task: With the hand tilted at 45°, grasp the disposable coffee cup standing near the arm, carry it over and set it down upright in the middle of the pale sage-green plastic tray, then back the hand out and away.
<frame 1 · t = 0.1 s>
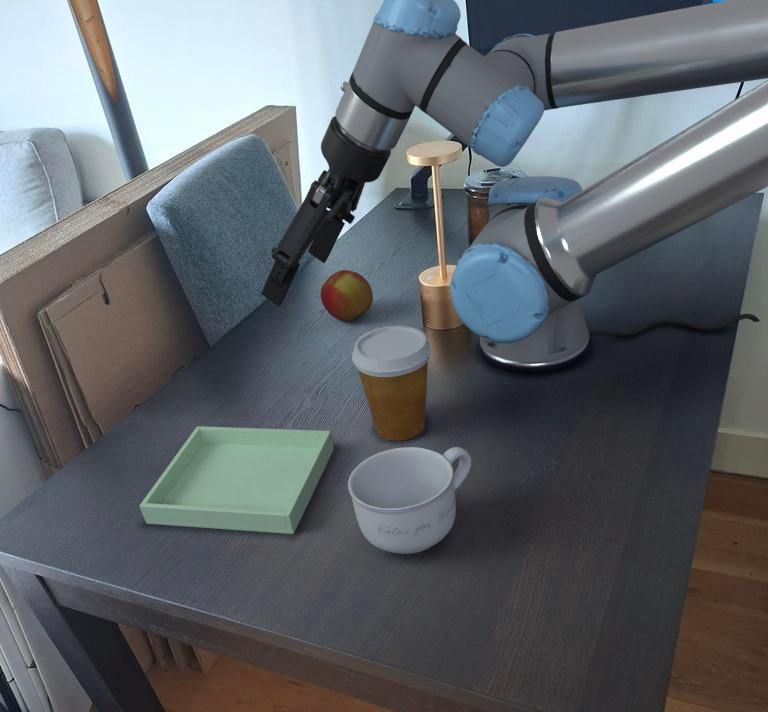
hand: (294, 277, 100), 15 cm above the table, tool tilted 35°, fingers open, 13 cm apart
disposable coffee cup: (400, 428, 97), on the table
tray: (244, 484, 92), on the table
apple: (350, 320, 123), on the table
teacup: (421, 529, 82), on the table
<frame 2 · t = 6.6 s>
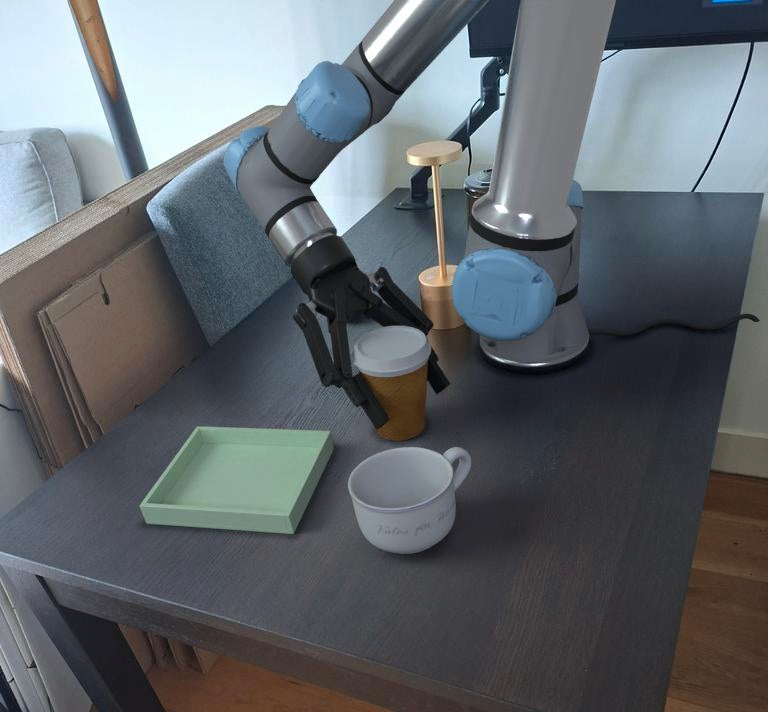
hand: (414, 406, 92), 4 cm above the table, tool tilted 45°, fingers closed on disposable coffee cup, 9 cm apart
disposable coffee cup: (400, 428, 97), on the table, touching gripper
everything else where it was.
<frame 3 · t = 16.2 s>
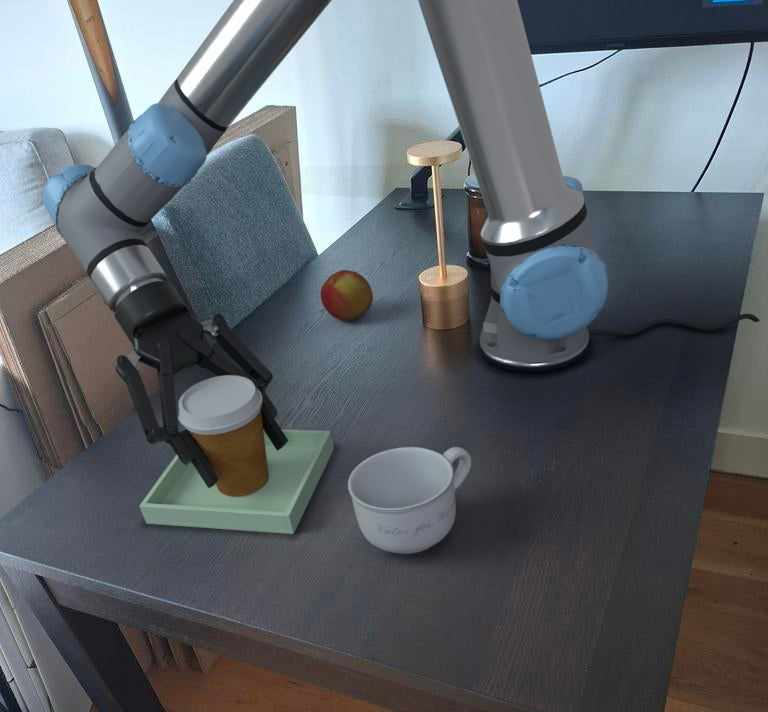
hand: (248, 464, 87), 5 cm above the table, tool tilted 45°, fingers closed on disposable coffee cup, 9 cm apart
disposable coffee cup: (243, 481, 91), resting on tray, touching gripper
everything else where it was.
when the fingers open (5 cm above the table, at t = 16.3 s): disposable coffee cup stays where it is, resting on tray.
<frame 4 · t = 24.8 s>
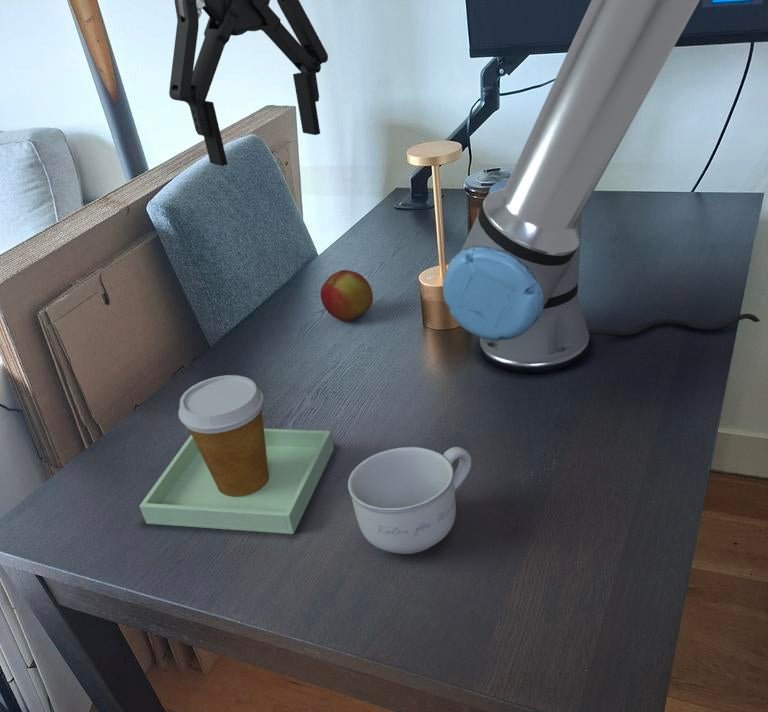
hand: (266, 148, 92), 31 cm above the table, tool pointing down, fingers open, 13 cm apart
disposable coffee cup: (243, 482, 91), resting on tray
everything else where it was.
at the end: disposable coffee cup inside the target area in the tray (0.1 cm from its centre), point 0.3 cm above the tray's base; disposable coffee cup tilted 0°; the gripper is holding nothing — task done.
